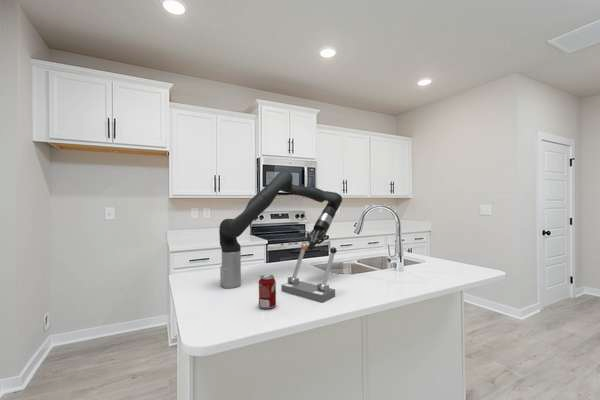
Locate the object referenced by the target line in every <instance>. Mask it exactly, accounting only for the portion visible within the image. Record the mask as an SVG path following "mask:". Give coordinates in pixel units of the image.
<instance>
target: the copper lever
mask: <svg viewBox="0 0 600 400" xmlns="http://www.w3.org/2000/svg"><path fill="white" fill-rule="evenodd" d="M300 247H301V248H300V253H299V256H298V259H297V261H296V264H295V268H294V270H293V274H292V276H290V277H291V278H290V282H291V283H294V279H296V278H298V274H299V272H300V268H301V264H302V261H303V259H304V255H305V253H306V250H307V249H308V245H307V244H306V243H303V244H302V245H301V246H300Z"/></svg>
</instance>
